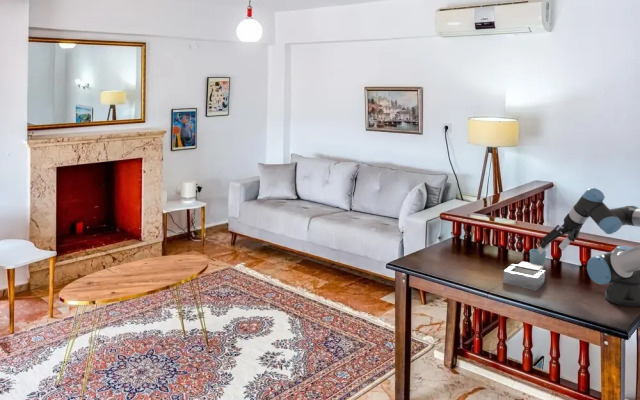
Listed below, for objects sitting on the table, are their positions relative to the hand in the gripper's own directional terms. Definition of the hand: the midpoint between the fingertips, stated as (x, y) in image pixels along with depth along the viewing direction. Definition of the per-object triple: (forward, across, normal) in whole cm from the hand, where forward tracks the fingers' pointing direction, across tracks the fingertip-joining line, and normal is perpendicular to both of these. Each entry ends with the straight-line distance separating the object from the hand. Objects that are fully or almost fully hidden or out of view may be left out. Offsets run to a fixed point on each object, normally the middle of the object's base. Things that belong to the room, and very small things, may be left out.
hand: (550, 250), depth 253 cm
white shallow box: (+16, +4, +2) cm, 17 cm away
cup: (+20, -7, -2) cm, 22 cm away
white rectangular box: (+16, +9, +5) cm, 19 cm away
